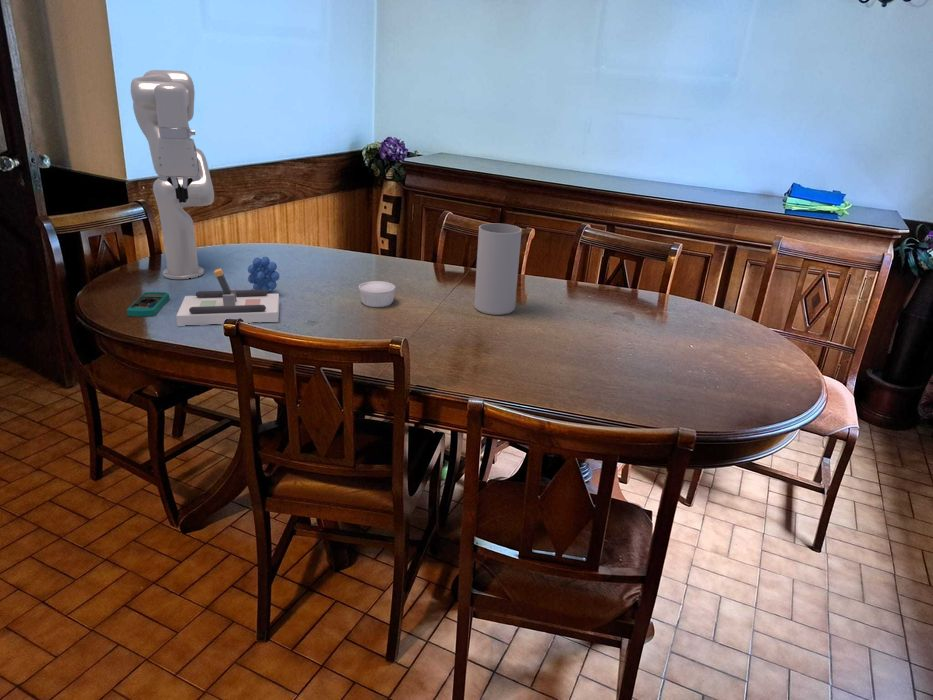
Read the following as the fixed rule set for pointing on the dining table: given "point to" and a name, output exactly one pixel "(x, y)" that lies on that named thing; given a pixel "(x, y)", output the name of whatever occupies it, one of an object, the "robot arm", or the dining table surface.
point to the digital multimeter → (148, 304)
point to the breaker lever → (222, 281)
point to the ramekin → (377, 293)
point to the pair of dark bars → (229, 308)
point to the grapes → (263, 274)
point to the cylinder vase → (497, 268)
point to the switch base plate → (218, 318)
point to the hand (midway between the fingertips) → (182, 201)
